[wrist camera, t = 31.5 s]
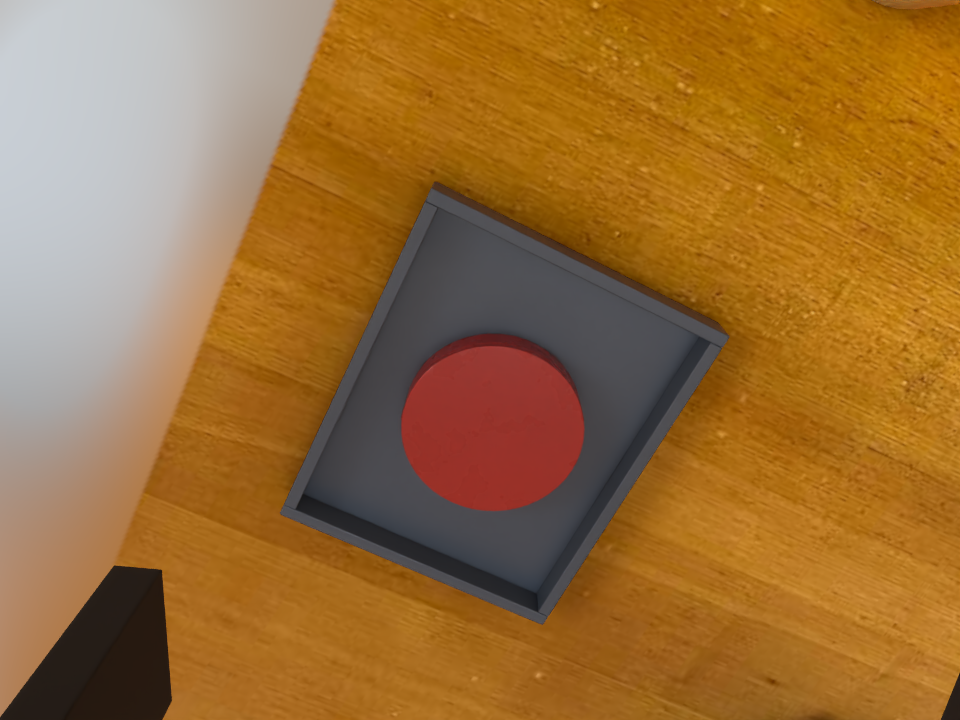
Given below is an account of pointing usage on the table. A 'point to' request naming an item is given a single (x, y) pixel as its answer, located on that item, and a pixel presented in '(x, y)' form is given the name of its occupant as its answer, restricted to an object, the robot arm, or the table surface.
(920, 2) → the jar
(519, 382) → the jar lid
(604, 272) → the tray
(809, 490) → the table surface
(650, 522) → the table surface
